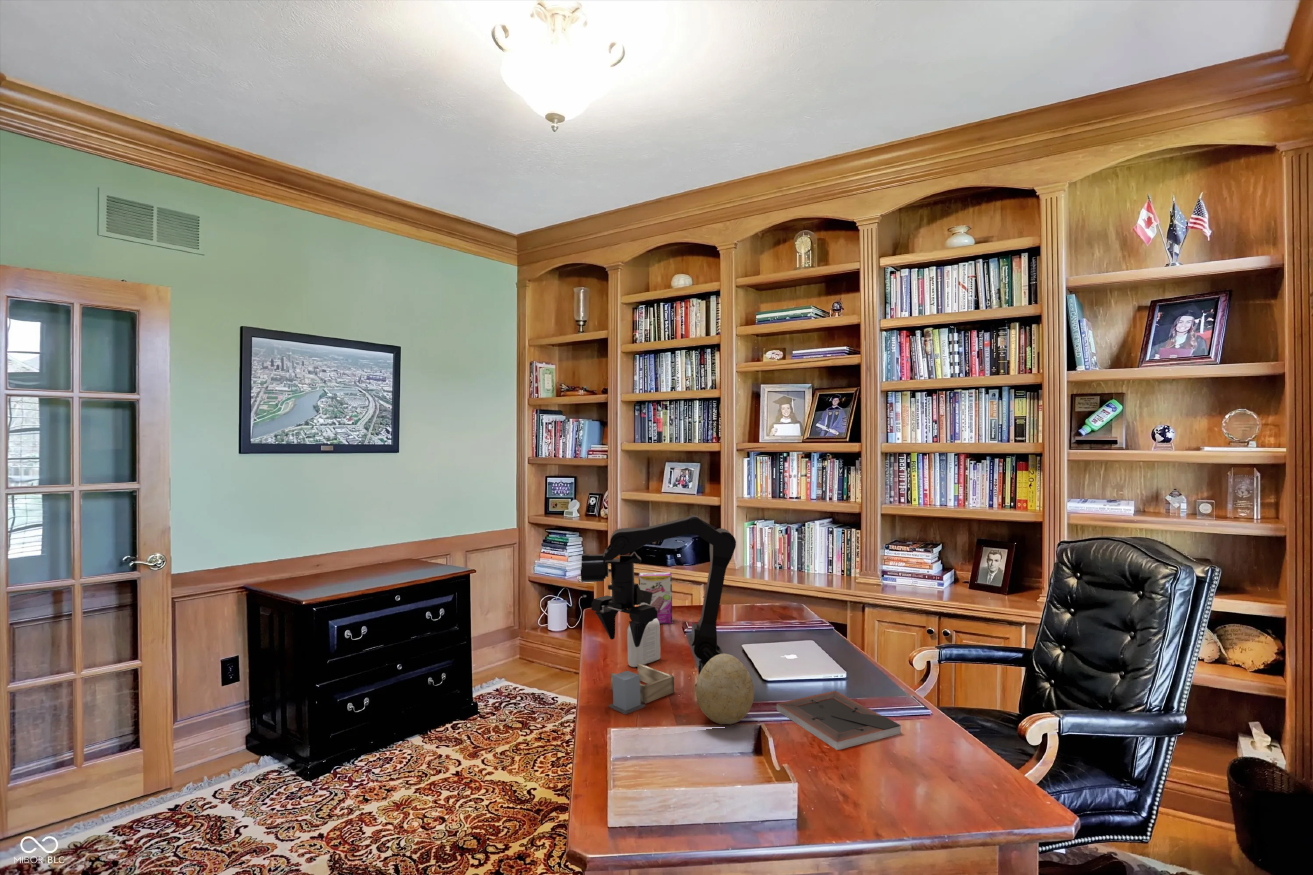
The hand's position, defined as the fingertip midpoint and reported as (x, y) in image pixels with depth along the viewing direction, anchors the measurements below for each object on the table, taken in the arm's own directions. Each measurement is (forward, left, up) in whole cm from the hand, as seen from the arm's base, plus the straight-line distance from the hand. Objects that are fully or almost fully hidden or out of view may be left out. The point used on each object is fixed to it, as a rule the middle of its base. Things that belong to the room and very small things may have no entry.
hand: (624, 642), depth 171 cm
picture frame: (-47, -21, -13) cm, 53 cm away
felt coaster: (-8, +6, -12) cm, 16 cm away
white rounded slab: (+12, -17, -12) cm, 24 cm away
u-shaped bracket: (-3, -3, -12) cm, 13 cm away
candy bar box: (+38, -45, -12) cm, 60 cm away
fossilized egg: (-30, -4, -12) cm, 32 cm away
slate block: (-8, +6, -12) cm, 15 cm away
